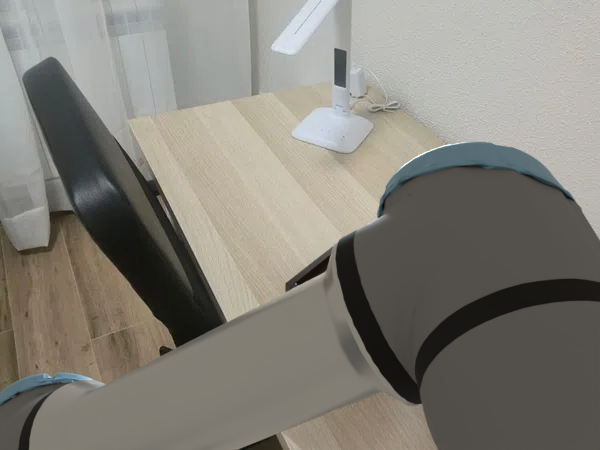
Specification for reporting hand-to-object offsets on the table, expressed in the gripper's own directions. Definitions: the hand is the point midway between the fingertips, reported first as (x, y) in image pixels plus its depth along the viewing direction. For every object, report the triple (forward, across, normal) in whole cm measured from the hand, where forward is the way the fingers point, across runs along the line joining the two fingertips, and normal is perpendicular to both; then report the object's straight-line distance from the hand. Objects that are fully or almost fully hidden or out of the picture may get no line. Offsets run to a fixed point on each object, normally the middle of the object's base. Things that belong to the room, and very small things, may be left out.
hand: (446, 332), depth 71 cm
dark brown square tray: (+16, -1, -6) cm, 17 cm away
